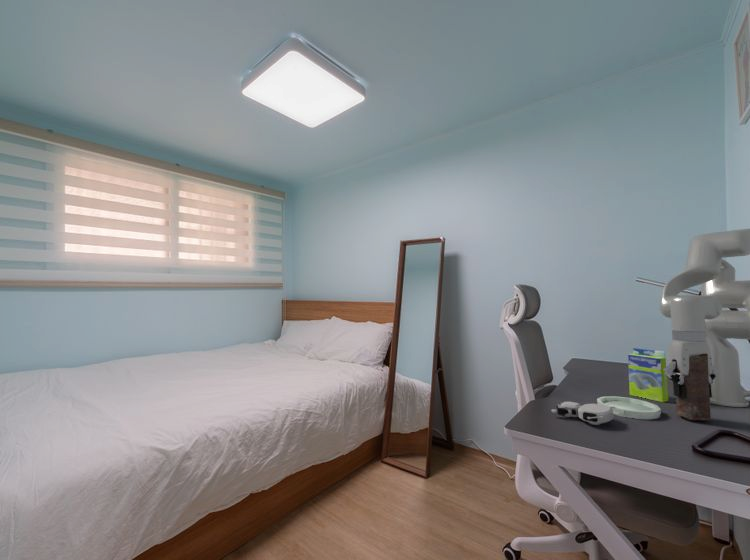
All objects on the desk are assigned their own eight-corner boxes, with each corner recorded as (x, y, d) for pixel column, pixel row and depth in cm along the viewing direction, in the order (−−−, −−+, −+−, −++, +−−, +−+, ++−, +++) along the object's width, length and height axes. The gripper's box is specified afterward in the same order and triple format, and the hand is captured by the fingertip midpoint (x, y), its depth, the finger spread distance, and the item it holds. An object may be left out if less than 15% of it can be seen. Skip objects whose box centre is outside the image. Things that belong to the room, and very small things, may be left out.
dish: (631, 402, 116) (630, 395, 116) (674, 418, 100) (674, 411, 100) (586, 403, 115) (586, 396, 115) (623, 420, 99) (623, 412, 99)
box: (629, 395, 124) (626, 348, 125) (634, 393, 126) (632, 347, 127) (663, 403, 114) (660, 352, 115) (669, 401, 116) (666, 351, 117)
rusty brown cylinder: (719, 424, 95) (714, 353, 96) (693, 424, 95) (689, 354, 96) (694, 415, 103) (690, 349, 104) (670, 415, 103) (666, 349, 104)
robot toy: (549, 420, 102) (607, 431, 91) (548, 405, 102) (605, 414, 91) (565, 411, 110) (619, 420, 99) (563, 397, 110) (617, 404, 99)
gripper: (703, 335, 104) (707, 392, 103) (650, 336, 104) (653, 393, 103) (729, 338, 97) (734, 399, 96) (673, 338, 96) (676, 401, 95)
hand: (692, 396), depth 99 cm, fingers closed on rusty brown cylinder, 7 cm apart
